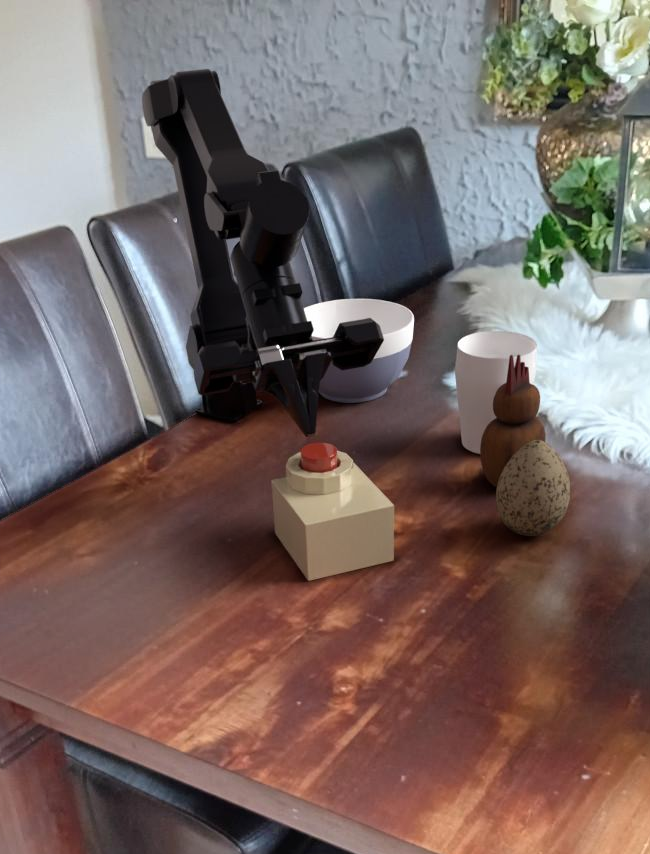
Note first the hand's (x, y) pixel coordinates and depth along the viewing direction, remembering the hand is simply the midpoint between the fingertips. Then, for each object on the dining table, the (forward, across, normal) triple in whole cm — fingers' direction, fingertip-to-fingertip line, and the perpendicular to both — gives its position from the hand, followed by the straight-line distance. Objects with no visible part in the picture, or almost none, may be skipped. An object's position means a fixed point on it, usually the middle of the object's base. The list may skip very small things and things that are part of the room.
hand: (311, 435), depth 99 cm
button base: (+11, 0, -4) cm, 11 cm away
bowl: (-15, -17, -30) cm, 38 cm away
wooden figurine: (+7, -23, -7) cm, 25 cm away
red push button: (+3, 0, 0) cm, 3 cm away
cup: (+1, -25, -14) cm, 29 cm away
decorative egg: (+15, -19, 0) cm, 24 cm away
